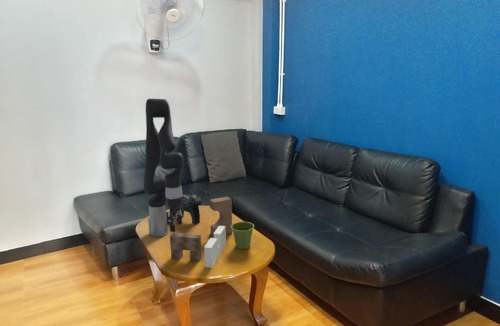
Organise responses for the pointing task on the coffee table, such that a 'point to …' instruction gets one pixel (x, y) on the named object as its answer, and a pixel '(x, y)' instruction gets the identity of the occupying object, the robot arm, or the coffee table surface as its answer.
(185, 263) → the coffee table surface
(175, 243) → the walnut notched plate
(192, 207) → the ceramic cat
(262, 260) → the coffee table surface
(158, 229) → the robot arm
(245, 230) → the plant pot
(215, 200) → the decorative block
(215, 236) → the white notched plate
